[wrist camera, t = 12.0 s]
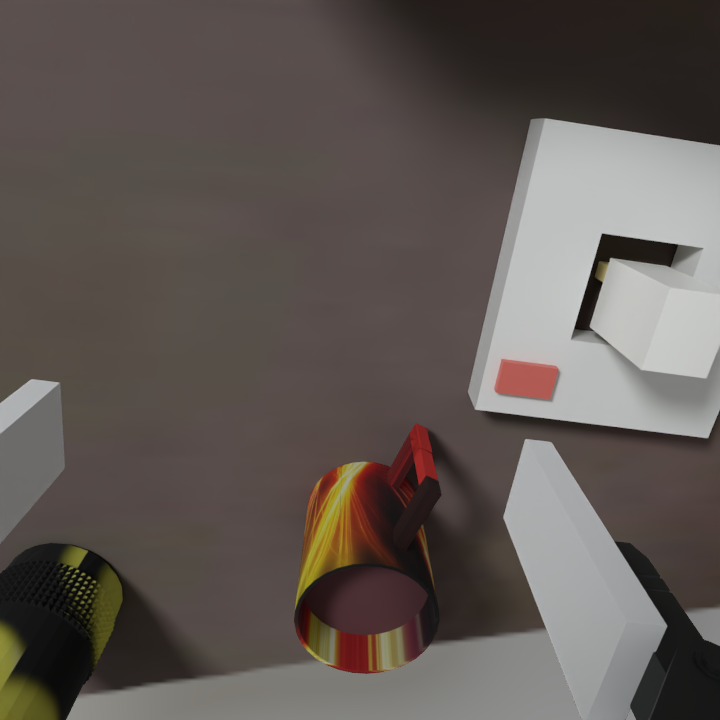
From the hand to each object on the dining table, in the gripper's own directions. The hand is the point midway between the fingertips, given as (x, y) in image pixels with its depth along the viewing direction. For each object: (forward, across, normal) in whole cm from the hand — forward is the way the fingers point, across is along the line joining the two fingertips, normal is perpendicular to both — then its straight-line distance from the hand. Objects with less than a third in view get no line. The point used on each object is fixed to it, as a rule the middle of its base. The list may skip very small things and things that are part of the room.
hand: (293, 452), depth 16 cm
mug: (+27, +5, -19) cm, 33 cm away
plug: (+27, +21, +1) cm, 34 cm away
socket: (+27, +21, +1) cm, 34 cm away
